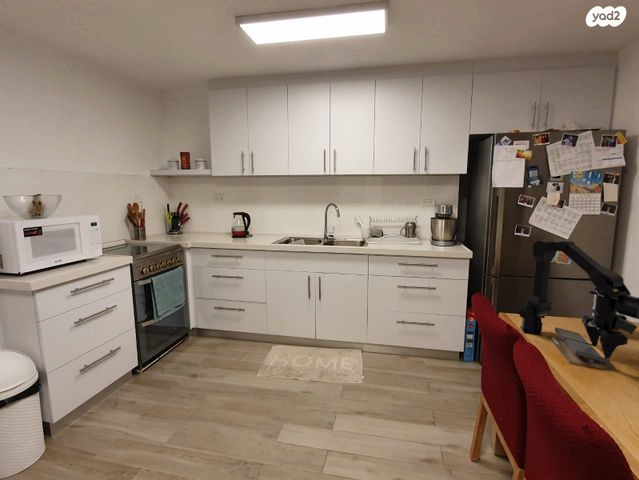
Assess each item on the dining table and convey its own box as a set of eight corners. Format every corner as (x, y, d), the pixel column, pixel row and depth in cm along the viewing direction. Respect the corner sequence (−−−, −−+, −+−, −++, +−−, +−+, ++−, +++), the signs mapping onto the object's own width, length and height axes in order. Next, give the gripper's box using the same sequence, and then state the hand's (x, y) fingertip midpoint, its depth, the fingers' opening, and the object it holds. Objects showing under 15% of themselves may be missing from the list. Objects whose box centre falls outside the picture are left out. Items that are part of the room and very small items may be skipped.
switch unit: (569, 363, 117) (569, 357, 116) (548, 337, 137) (549, 332, 137) (615, 370, 112) (615, 363, 112) (586, 342, 133) (587, 336, 133)
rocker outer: (574, 354, 116) (576, 350, 116) (564, 341, 125) (565, 338, 125) (608, 363, 113) (610, 359, 113) (595, 350, 123) (596, 346, 122)
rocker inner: (563, 340, 126) (564, 337, 126) (554, 330, 136) (555, 326, 135) (594, 348, 123) (595, 345, 123) (582, 337, 133) (584, 334, 133)
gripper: (651, 322, 104) (644, 368, 106) (620, 303, 122) (615, 343, 124) (607, 318, 108) (602, 363, 110) (583, 300, 125) (579, 339, 128)
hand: (600, 351), depth 118 cm, fingers open, 9 cm apart
